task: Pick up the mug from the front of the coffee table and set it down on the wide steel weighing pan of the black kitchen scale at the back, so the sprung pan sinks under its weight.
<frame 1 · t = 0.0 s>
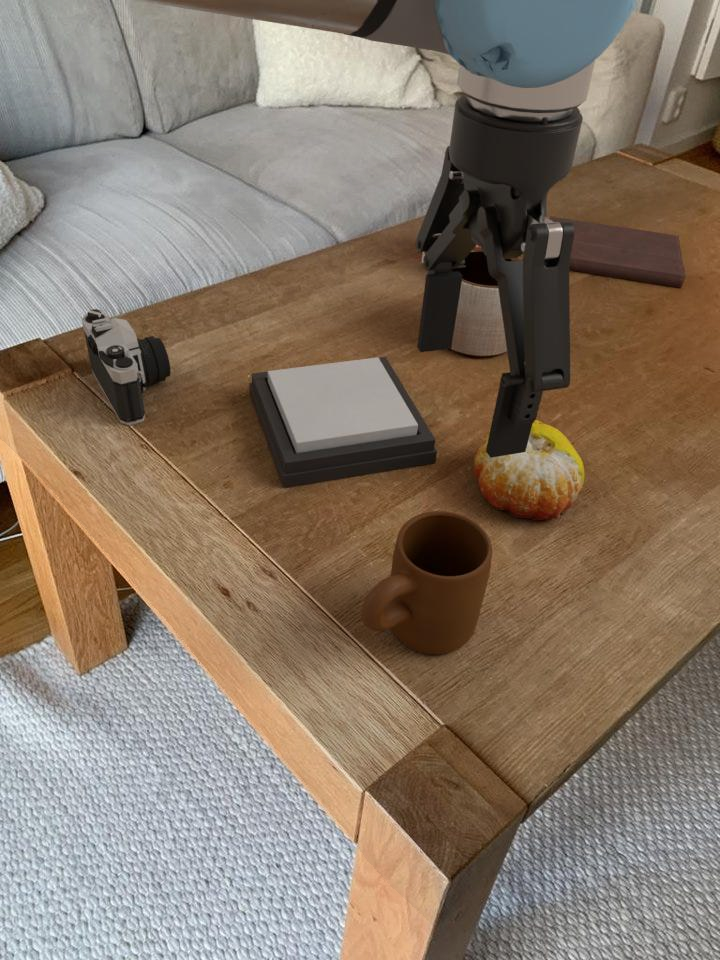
hand: (467, 396, 62), 18 cm above the table, tool pointing down, fingers open, 13 cm apart
mug: (411, 636, 68), on the table
camera: (135, 389, 91), on the table
scale pan: (340, 402, 85), point 3 cm above the table, slide at 0.0 cm
red and white box: (459, 264, 118), on the table
planter: (473, 337, 103), on the table
notebook: (610, 256, 123), on the table
fruit: (522, 491, 82), on the table
scale: (338, 427, 88), on the table
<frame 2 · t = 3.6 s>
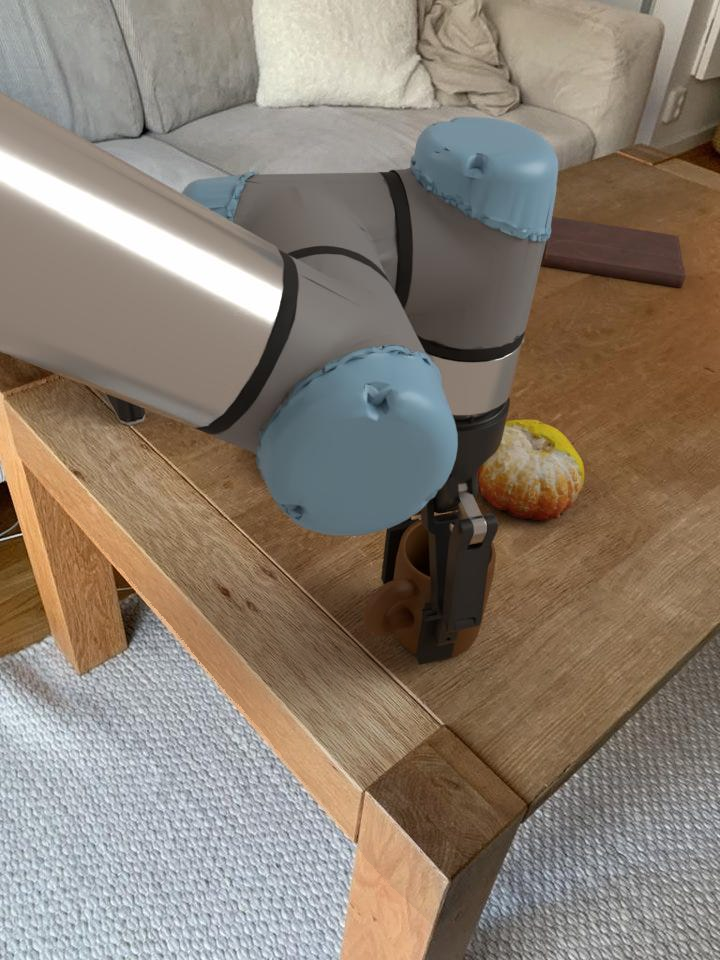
hand: (414, 615, 66), 2 cm above the table, tool pointing down, fingers closed on mug, 8 cm apart
mug: (414, 640, 67), on the table, touching gripper
everything else where it was.
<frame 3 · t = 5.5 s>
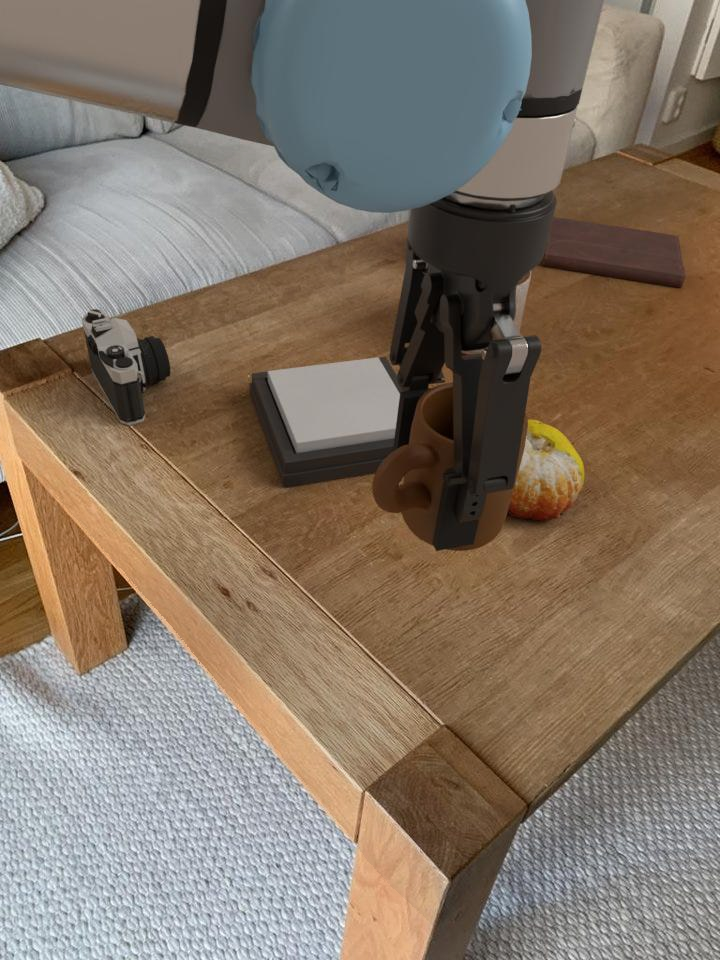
hand: (430, 502, 57), 15 cm above the table, tool pointing down, fingers closed on mug, 8 cm apart
mug: (429, 532, 58), point 13 cm above the table, touching gripper
everything else where it was.
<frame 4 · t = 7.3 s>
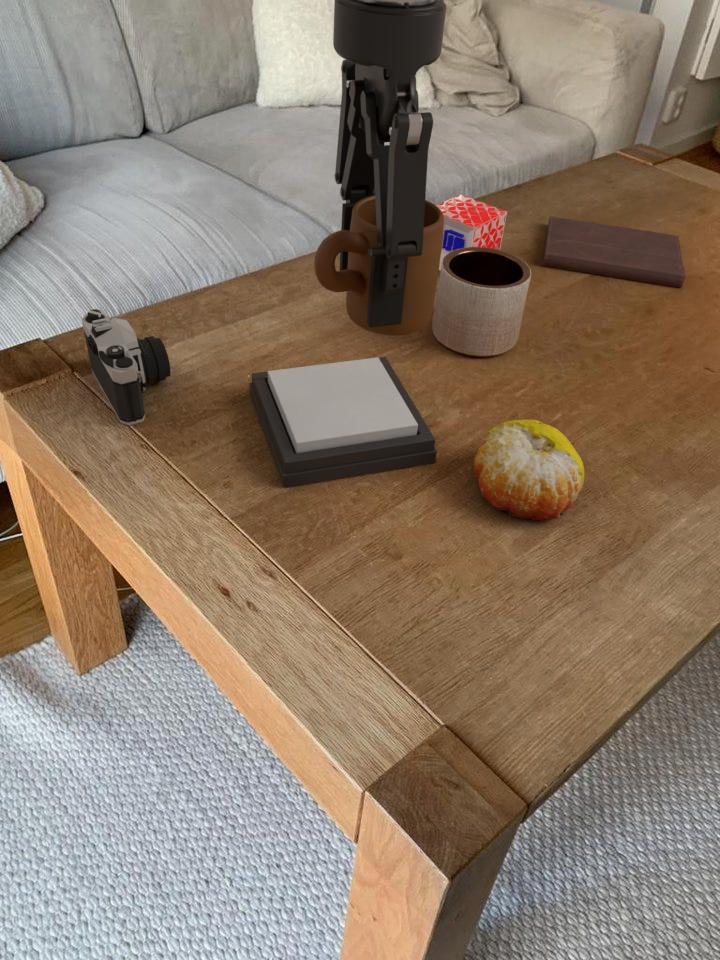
hand: (368, 298, 70), 19 cm above the table, tool pointing down, fingers closed on mug, 8 cm apart
mug: (369, 325, 70), point 17 cm above the table, touching gripper
everything else where it was.
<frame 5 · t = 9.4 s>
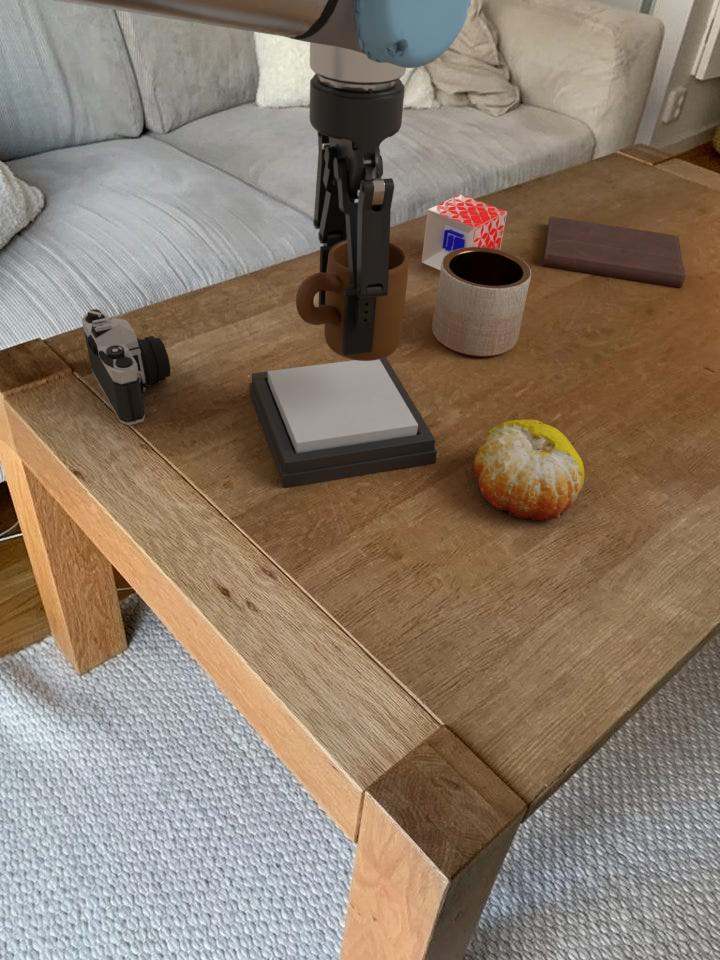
hand: (344, 328, 80), 12 cm above the table, tool pointing down, fingers closed on mug, 8 cm apart
mug: (345, 351, 80), point 10 cm above the table, touching gripper
everything else where it was.
when the fingers open (6 cm above the table, at t = 11.3 s): mug stays where it is, resting on scale pan.
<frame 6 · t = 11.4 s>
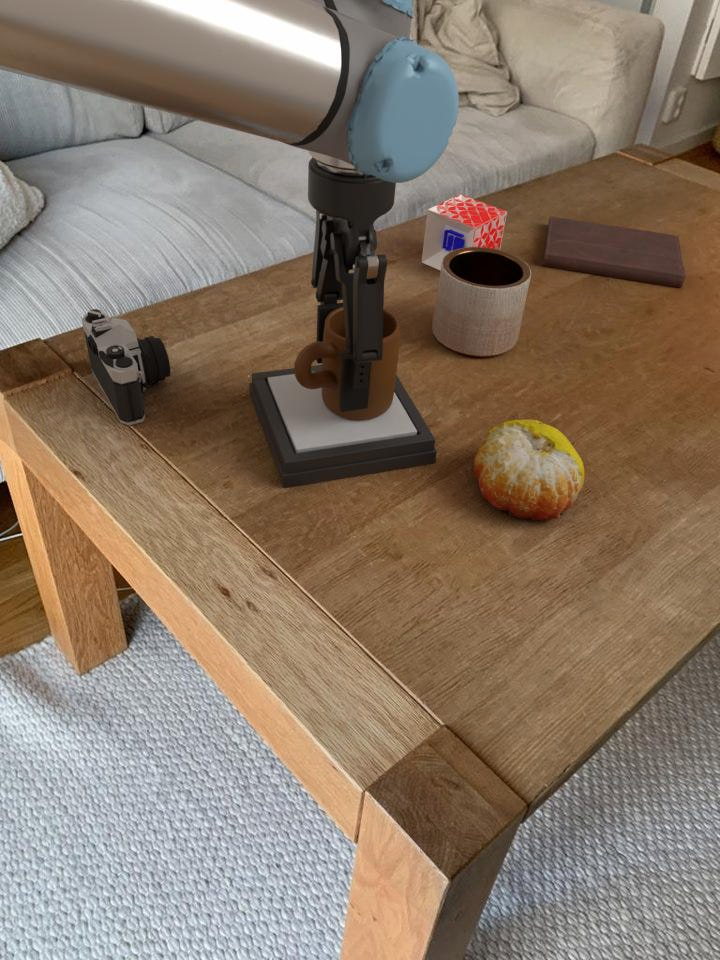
hand: (340, 382, 84), 6 cm above the table, tool pointing down, fingers open, 8 cm apart
mug: (341, 409, 85), point 3 cm above the table, touching scale pan
scale pan: (339, 409, 86), point 2 cm above the table, slide at -0.8 cm, touching mug
everything else where it was.
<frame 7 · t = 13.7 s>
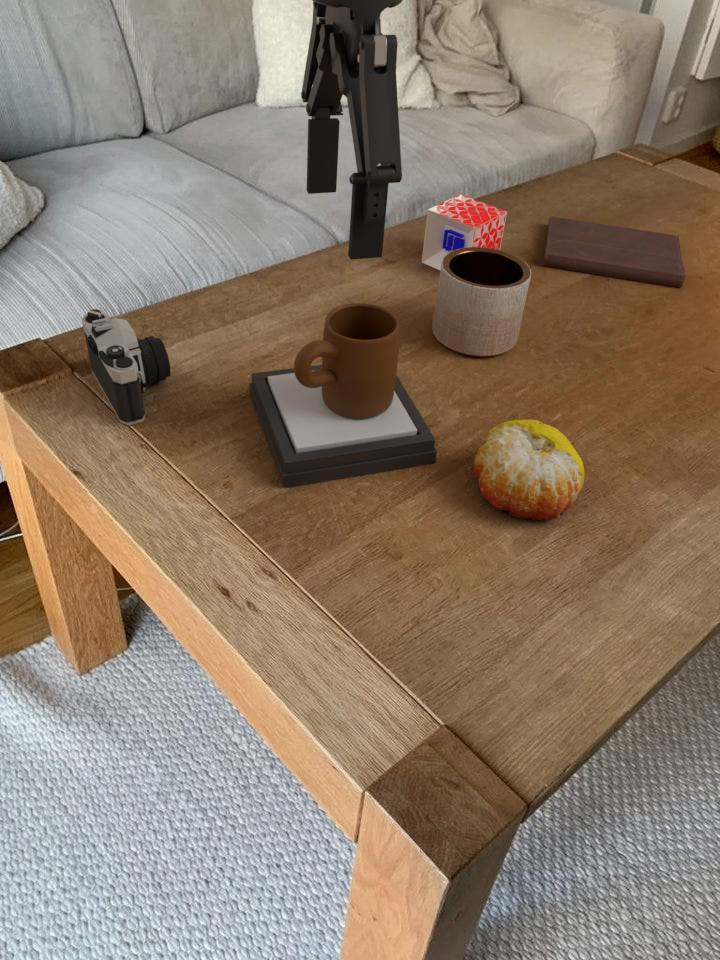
hand: (341, 222, 73), 23 cm above the table, tool pointing down, fingers open, 13 cm apart
nothing on the table moved.
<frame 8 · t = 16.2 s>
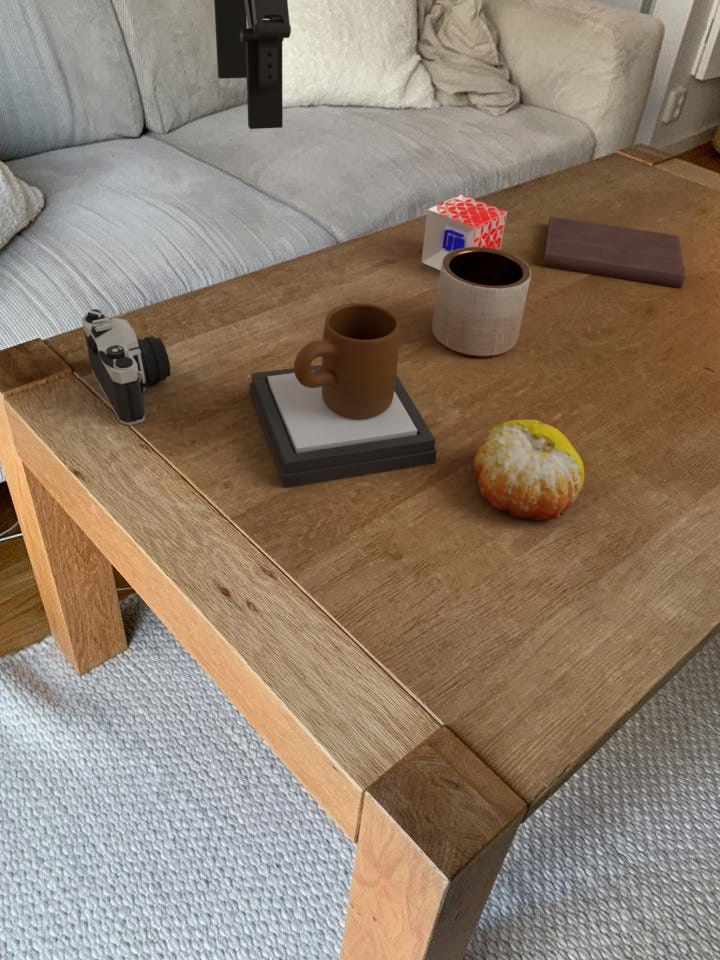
hand: (248, 100, 72), 31 cm above the table, tool pointing down, fingers open, 13 cm apart
nothing on the table moved.
at the end: mug inside the target area on the scale (0.9 cm from its centre), point 3.2 cm above the scale's base; mug tilted 0°; scale pan slide at -0.7 cm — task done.
